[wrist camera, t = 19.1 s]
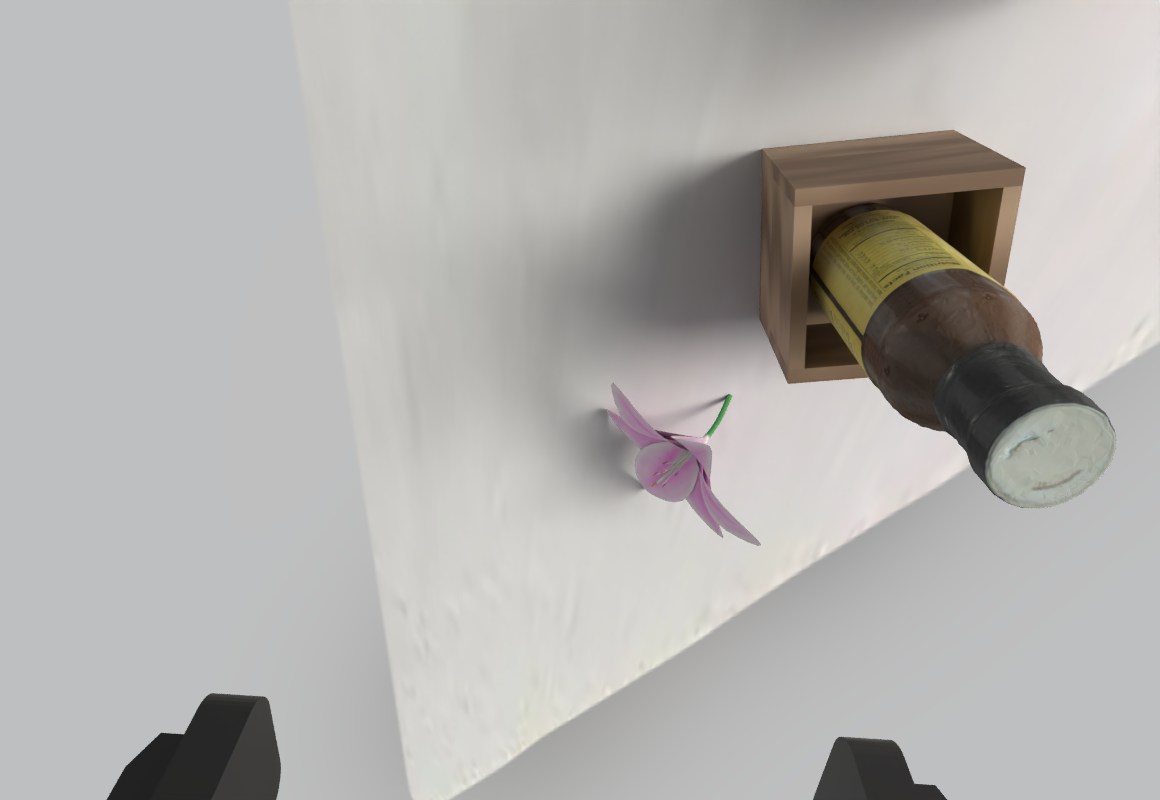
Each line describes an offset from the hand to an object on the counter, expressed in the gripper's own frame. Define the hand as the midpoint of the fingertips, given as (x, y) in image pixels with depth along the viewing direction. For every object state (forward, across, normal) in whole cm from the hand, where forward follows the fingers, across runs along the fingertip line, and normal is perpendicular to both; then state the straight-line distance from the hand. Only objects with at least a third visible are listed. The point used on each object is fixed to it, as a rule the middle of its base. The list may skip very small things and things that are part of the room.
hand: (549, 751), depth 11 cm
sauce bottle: (+33, -15, +3) cm, 37 cm away
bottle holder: (+36, -15, +3) cm, 39 cm away
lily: (+36, -7, +17) cm, 41 cm away
